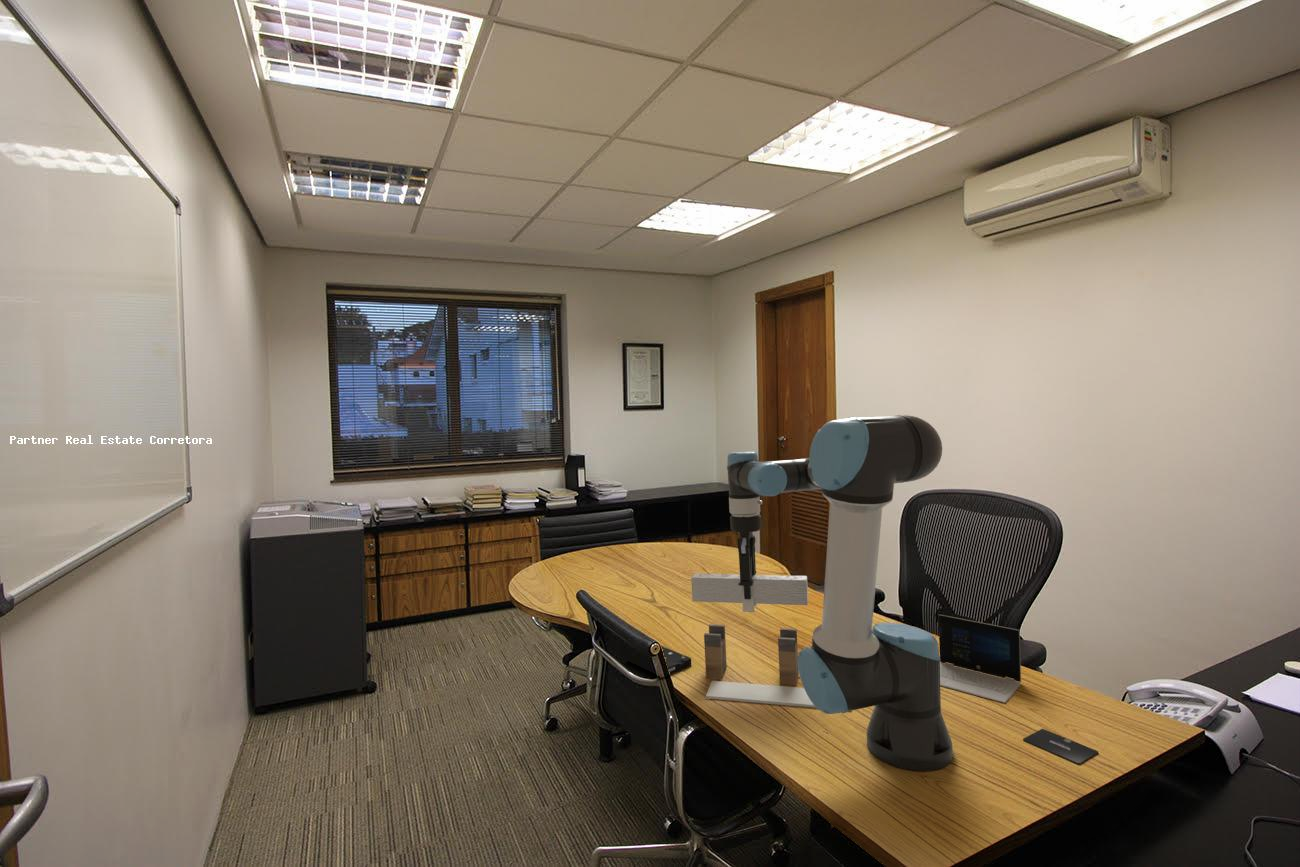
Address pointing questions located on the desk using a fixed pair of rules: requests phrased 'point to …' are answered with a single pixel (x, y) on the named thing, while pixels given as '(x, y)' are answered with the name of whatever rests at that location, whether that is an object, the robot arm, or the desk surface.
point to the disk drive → (676, 660)
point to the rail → (764, 587)
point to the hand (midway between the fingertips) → (749, 608)
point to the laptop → (979, 658)
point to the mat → (759, 694)
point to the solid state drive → (1061, 746)
